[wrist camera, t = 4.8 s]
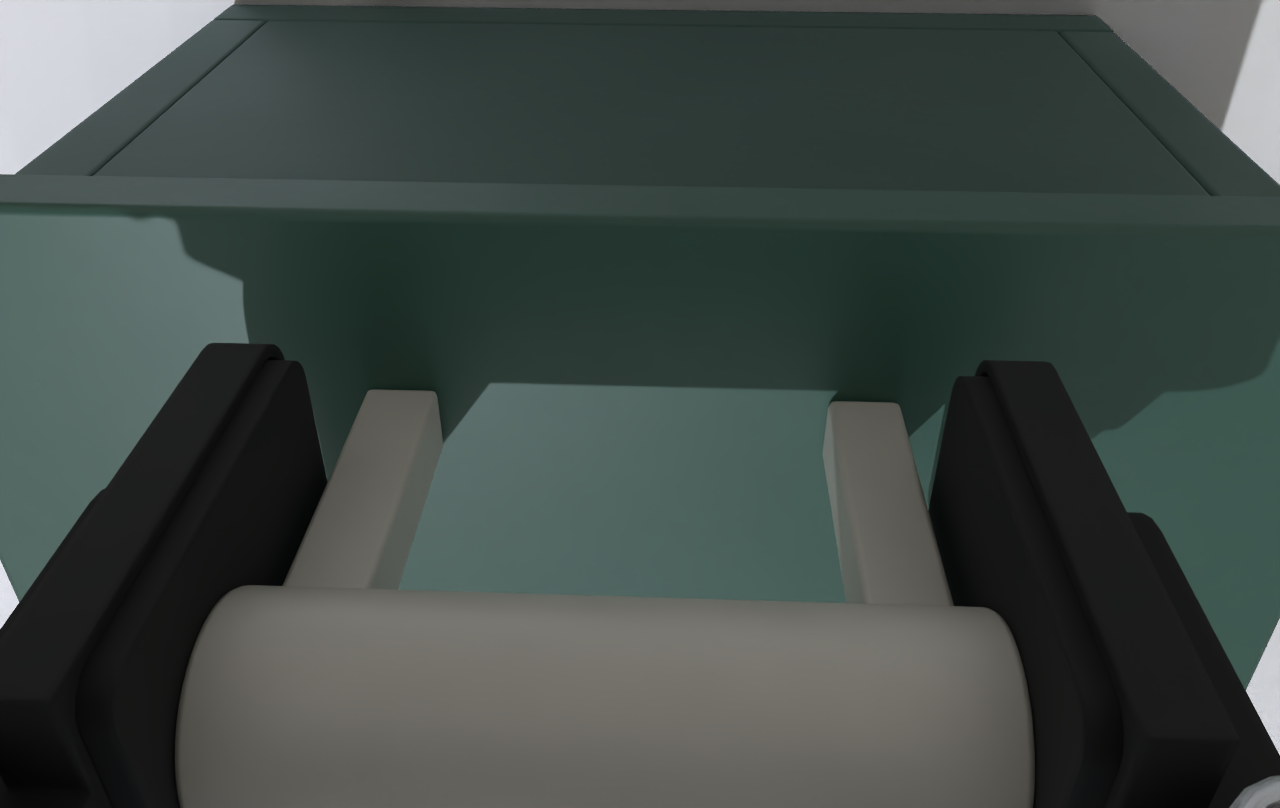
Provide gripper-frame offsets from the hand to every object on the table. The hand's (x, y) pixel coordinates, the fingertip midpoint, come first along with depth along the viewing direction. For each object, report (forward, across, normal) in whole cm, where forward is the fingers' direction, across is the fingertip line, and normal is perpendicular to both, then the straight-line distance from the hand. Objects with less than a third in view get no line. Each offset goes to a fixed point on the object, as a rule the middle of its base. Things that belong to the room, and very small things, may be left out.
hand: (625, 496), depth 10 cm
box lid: (+2, 0, +8) cm, 8 cm away
